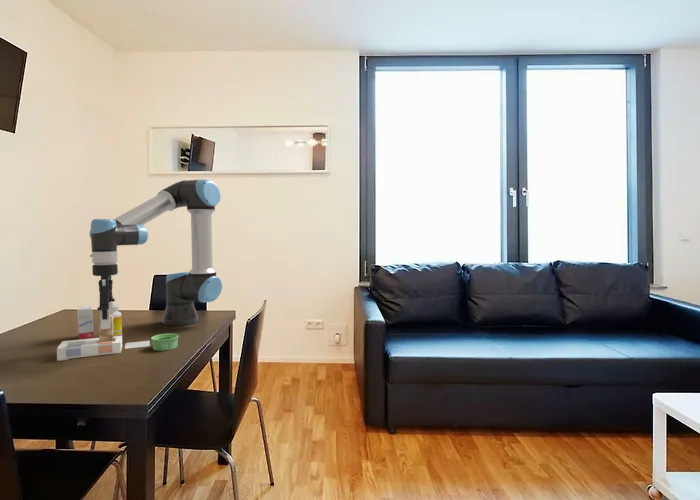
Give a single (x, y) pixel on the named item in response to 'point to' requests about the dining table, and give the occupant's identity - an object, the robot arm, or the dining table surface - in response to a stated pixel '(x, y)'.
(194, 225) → the robot arm
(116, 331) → the supplement bottle
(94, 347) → the socket board
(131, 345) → the mat
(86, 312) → the ink box
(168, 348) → the ramekin
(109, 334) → the oak peg
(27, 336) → the dining table surface
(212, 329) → the dining table surface
